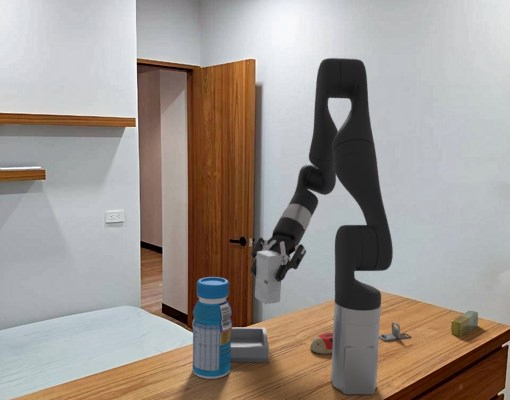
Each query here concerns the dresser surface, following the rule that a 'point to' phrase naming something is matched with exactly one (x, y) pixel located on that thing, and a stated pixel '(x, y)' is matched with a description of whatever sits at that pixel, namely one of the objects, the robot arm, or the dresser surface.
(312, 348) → the ladybug figurine
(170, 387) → the dresser surface
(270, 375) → the dresser surface
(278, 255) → the skincare box
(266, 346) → the gray open square tray
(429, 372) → the dresser surface
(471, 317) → the medication box
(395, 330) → the strap clip
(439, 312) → the dresser surface
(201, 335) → the beverage bottle
